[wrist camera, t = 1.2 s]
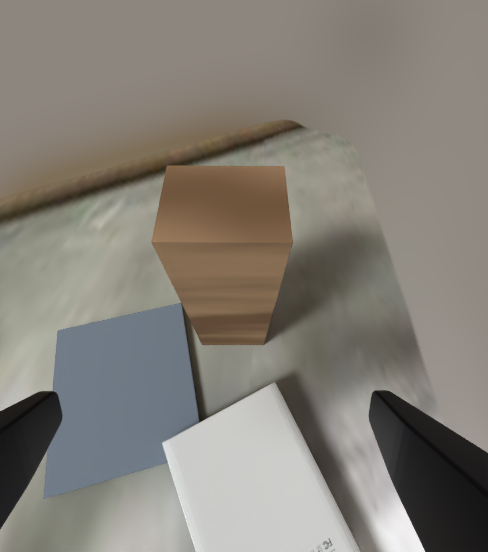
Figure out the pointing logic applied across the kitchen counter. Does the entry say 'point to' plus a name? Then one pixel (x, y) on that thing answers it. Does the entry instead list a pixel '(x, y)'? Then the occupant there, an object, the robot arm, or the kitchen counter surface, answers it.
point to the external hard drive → (254, 482)
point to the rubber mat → (119, 397)
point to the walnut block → (225, 247)
